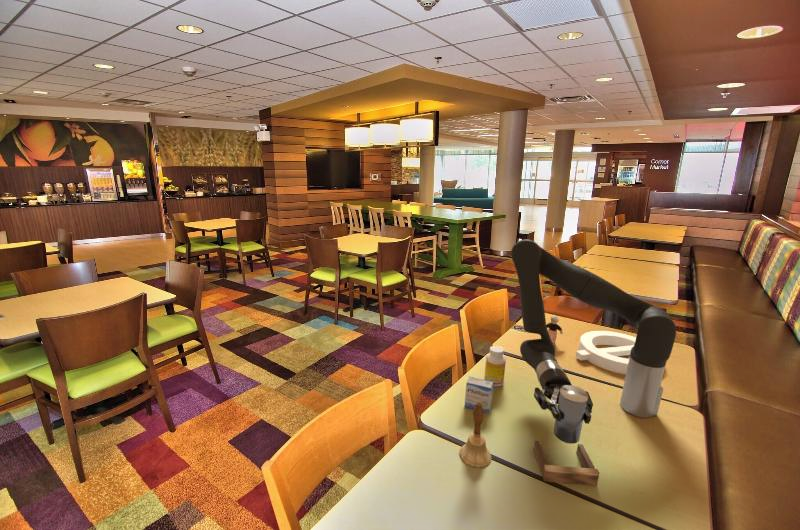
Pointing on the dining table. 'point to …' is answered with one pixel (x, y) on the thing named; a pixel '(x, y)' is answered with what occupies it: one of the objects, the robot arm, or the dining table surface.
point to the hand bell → (476, 443)
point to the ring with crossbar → (606, 350)
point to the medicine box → (479, 393)
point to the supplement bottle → (495, 366)
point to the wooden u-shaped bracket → (567, 468)
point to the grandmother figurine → (554, 328)
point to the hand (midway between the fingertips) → (573, 419)
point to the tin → (570, 413)
